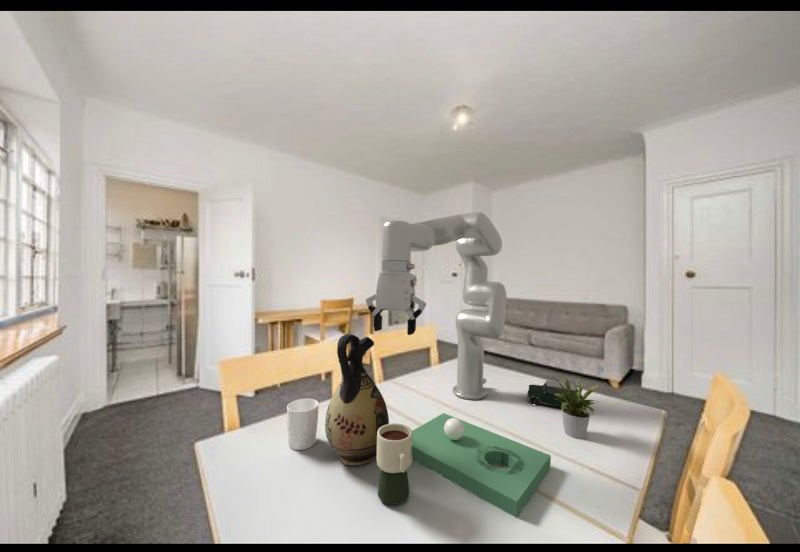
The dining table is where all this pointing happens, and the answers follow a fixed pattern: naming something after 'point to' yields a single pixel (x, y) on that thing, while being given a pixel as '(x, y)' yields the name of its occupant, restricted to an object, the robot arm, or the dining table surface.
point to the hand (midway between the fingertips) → (394, 332)
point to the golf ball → (454, 429)
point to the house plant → (575, 410)
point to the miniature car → (549, 393)
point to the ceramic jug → (355, 406)
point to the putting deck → (482, 462)
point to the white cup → (302, 423)
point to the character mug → (394, 462)
